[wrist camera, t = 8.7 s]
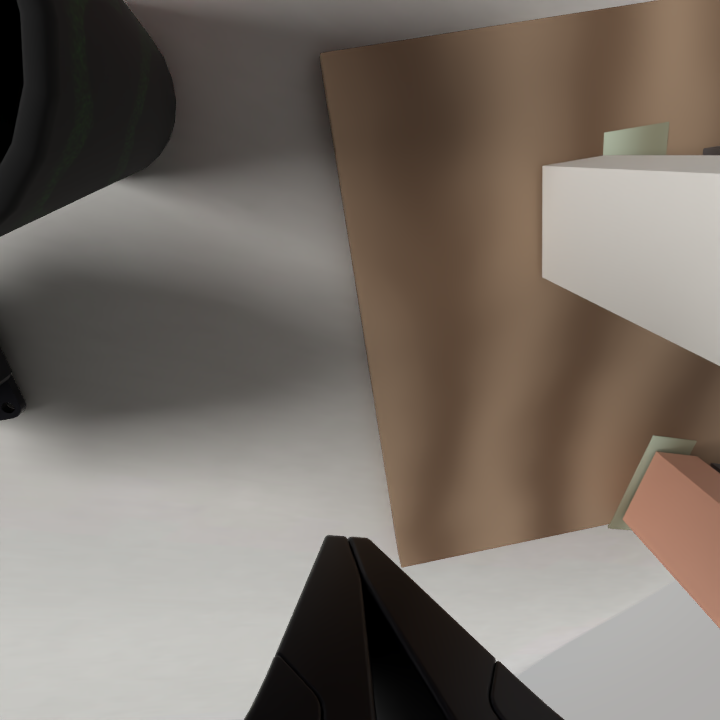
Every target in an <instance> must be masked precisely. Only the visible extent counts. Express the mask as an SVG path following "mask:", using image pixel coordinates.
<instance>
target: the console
mask: <svg viewBox="0 0 720 720" xmlns="http://www.w3.org/2000/svg"><path fill="white" fill-rule="evenodd" d="M320 64H321V70H322V76H323V82H324V89H325V95H326V101H327V108H328V114H329V120H330V127H331V133H332V139H333V145H334V152H335V158H336V164H337V171H338V177H339V183H340V189H341V196H342V202H343V208H344V215H345V221H346V227H347V234H348V240H349V246H350V252H351V259H352V265H353V271H354V278H355V284H356V290H357V297H358V303H359V309H360V315H361V322H362V328H363V334H364V341H365V347H366V353H367V359H368V366H369V372H370V378H371V385H372V391H373V397H374V404H375V410H376V416H377V422H378V429H379V435H380V441H381V448H382V454H383V460H384V467H385V473H386V479H387V485H388V492H389V498H390V504H391V511H392V517H393V523H394V530H395V536H396V542H397V548H398V555H399V559H400V563H401V567H407V566H411V565H416V564H421V563H426V562H430V561H435V560H440V559H445V558H449V557H454V556H459V555H464V554H468V553H473V552H478V551H483V550H487V549H492V548H497V547H502V546H506V545H511V544H516V543H521V542H526V541H530V540H535V539H540V538H545V537H549V536H554V535H559V534H564V533H568V532H573V531H578V530H583V529H587V528H592V527H597V526H602V525H606V524H609V525H608V528H610V529H623V530H631V528H630V527H629V526H628V525H627V524H626V523H625V522H624V521H623V517H624V515H625V513H626V511H627V509H628V507H629V505H630V503H631V501H632V499H633V497H634V495H635V493H636V491H637V489H638V487H639V485H640V483H641V481H642V479H643V477H644V475H645V473H646V471H647V469H648V467H649V465H650V463H651V461H652V459H653V457H654V455H655V453H656V452H664V453H673V454H681V455H690V456H697V457H699V458H700V459H701V460H703V461H704V462H705V463H707V464H708V465H709V466H711V467H712V468H713V469H715V470H716V471H717V472H719V473H720V366H719V365H717V364H715V363H713V362H711V361H709V360H707V359H705V358H703V357H701V356H699V355H697V354H695V353H693V352H691V351H689V350H687V349H685V348H683V347H681V346H679V345H677V344H675V343H673V342H671V341H669V340H667V339H665V338H663V337H661V336H659V335H657V334H655V333H653V332H651V331H649V330H647V329H645V328H643V327H641V326H639V325H637V324H635V323H633V322H631V321H629V320H627V319H625V318H623V317H621V316H619V315H617V314H615V313H613V312H611V311H609V310H607V309H605V308H603V307H601V306H599V305H597V304H595V303H593V302H591V301H589V300H587V299H585V298H583V297H581V296H579V295H577V294H575V293H573V292H571V291H569V290H567V289H565V288H563V287H561V286H559V285H557V284H555V283H553V282H551V281H549V280H547V279H545V278H543V277H542V166H545V165H551V164H556V163H562V162H568V161H574V160H580V159H586V158H591V157H597V156H603V155H720V0H657V1H651V2H644V3H638V4H631V5H625V6H619V7H612V8H606V9H599V10H593V11H586V12H580V13H574V14H567V15H561V16H554V17H548V18H541V19H535V20H529V21H522V22H516V23H509V24H503V25H497V26H490V27H484V28H477V29H471V30H464V31H458V32H452V33H445V34H439V35H432V36H426V37H420V38H413V39H407V40H400V41H394V42H387V43H381V44H375V45H368V46H362V47H355V48H349V49H342V50H336V51H330V52H323V53H320Z"/></svg>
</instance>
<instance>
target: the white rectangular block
mask: <svg viewBox="0 0 720 720" xmlns="http://www.w3.org/2000/svg"><path fill="white" fill-rule="evenodd" d="M542 277H543V278H545V279H547V280H549V281H551V282H553V283H555V284H557V285H559V286H561V287H563V288H565V289H567V290H569V291H571V292H573V293H575V294H577V295H579V296H581V297H583V298H585V299H587V300H589V301H591V302H593V303H595V304H597V305H599V306H601V307H603V308H605V309H607V310H609V311H611V312H613V313H615V314H617V315H619V316H621V317H623V318H625V319H627V320H629V321H631V322H633V323H635V324H637V325H639V326H641V327H643V328H645V329H647V330H649V331H651V332H653V333H655V334H657V335H659V336H661V337H663V338H665V339H667V340H669V341H671V342H673V343H675V344H677V345H679V346H681V347H683V348H685V349H687V350H689V351H691V352H693V353H695V354H697V355H699V356H701V357H703V358H705V359H707V360H709V361H711V362H713V363H715V364H717V365H719V366H720V155H603V156H597V157H591V158H586V159H580V160H574V161H568V162H562V163H556V164H551V165H545V166H542Z"/></svg>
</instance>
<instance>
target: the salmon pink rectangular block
mask: <svg viewBox="0 0 720 720" xmlns="http://www.w3.org/2000/svg"><path fill="white" fill-rule="evenodd" d="M623 521H624V522H625V523H626V524H627V525H628V526H629V527H630V528H631V530H632V531H633V532H634V533H635V534H636V535H637V536H638V537H639V539H640V540H641V541H642V542H643V543H644V544H645V545H646V546H647V547H648V549H649V550H650V551H651V552H652V553H653V554H654V555H655V556H656V558H657V559H658V560H659V561H660V562H661V563H662V564H663V565H664V567H665V568H666V569H667V570H668V571H669V572H670V573H671V574H672V576H673V577H674V578H675V579H676V580H677V581H678V582H679V583H680V585H681V586H682V587H683V588H684V589H685V590H686V591H687V592H688V593H689V595H690V596H691V597H692V598H693V599H694V600H695V601H696V602H697V604H698V605H699V606H700V607H701V608H702V609H703V610H704V611H705V613H706V614H707V615H708V616H709V617H710V618H711V619H712V620H713V622H714V623H715V624H716V625H717V626H718V627H719V628H720V473H719V472H717V471H716V470H715V469H713V468H712V467H711V466H709V465H708V464H707V463H705V462H704V461H703V460H701V459H700V458H699V457H697V456H690V455H681V454H673V453H664V452H656V453H655V455H654V457H653V459H652V461H651V463H650V465H649V467H648V469H647V471H646V473H645V475H644V477H643V479H642V481H641V483H640V485H639V487H638V489H637V491H636V493H635V495H634V497H633V499H632V501H631V503H630V505H629V507H628V509H627V511H626V513H625V515H624V517H623Z"/></svg>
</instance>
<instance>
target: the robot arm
mask: <svg viewBox="0 0 720 720" xmlns="http://www.w3.org/2000/svg"><path fill="white" fill-rule="evenodd" d="M11 373H12V370H11V368H10V366H9V364H8V362H7V360H6V358H5V356H4V354H3V352H2V350H1V348H0V420H6V419H11V418H15V417H17V416H18V415H20V414H21V413H22V412H23V411H24V410H25V407H26V403H25V400H24V398H23V396H22V394H21V392H20V390H19V388H18V386H17V384H16V382H15V380H14V378H13V376H12V374H11ZM7 403H11V404H12V405H13V406H14V408H15V409H12V408H10V407H9V406H8V405H7ZM495 662H496V660H495V658H494V657H493V656H492V655H491V654H490V653H489V652H488V651H487V650H486V649H485V648H484V647H483V646H482V645H481V644H479V643H478V642H477V641H476V640H475V639H474V638H473V637H472V636H471V635H470V634H469V633H468V632H467V631H466V630H465V629H464V628H463V627H462V626H460V625H459V624H458V623H457V622H456V621H455V620H454V619H453V618H452V617H451V616H450V615H449V614H448V613H447V612H446V611H445V610H444V609H443V608H441V607H440V606H439V605H438V604H437V603H436V602H435V601H434V600H433V599H432V598H431V597H430V596H429V595H428V594H427V593H426V592H425V591H423V590H422V589H421V588H420V587H419V586H418V585H417V584H416V583H415V582H414V581H413V580H412V579H411V578H410V577H409V576H408V575H407V574H406V573H404V572H403V571H402V570H401V569H400V568H399V567H398V566H397V565H396V564H395V563H394V562H393V561H392V560H391V559H390V558H389V557H388V556H387V555H385V554H384V553H383V552H382V551H381V550H380V549H379V548H378V547H377V546H376V545H375V544H374V543H373V542H372V541H371V540H369V539H368V538H361V537H349V538H348V539H347V538H346V537H344V536H333V535H328V536H326V537H325V539H324V541H323V544H322V546H321V548H320V551H319V553H318V556H317V558H316V560H315V563H314V565H313V567H312V570H311V572H310V574H309V577H308V579H307V581H306V584H305V586H304V589H303V591H302V593H301V596H300V598H299V600H298V603H297V605H296V607H295V610H294V612H293V615H292V617H291V619H290V622H289V624H288V626H287V629H286V631H285V633H284V636H283V638H282V640H281V643H280V645H279V648H278V650H277V652H276V655H275V657H274V658H273V661H272V663H271V665H270V668H269V670H268V672H267V675H266V677H265V679H264V681H263V683H262V686H261V688H260V690H259V692H258V694H257V696H256V698H255V700H254V702H253V704H252V706H251V708H250V710H249V712H248V713H247V715H246V717H245V719H244V720H564V719H563V718H562V717H560V716H559V715H558V714H557V713H556V712H554V711H553V710H552V709H551V708H550V707H549V706H547V705H546V704H545V703H544V702H543V701H542V700H541V699H540V698H539V697H537V696H536V695H535V694H534V693H533V692H532V691H531V690H530V689H529V688H527V687H526V686H525V685H524V684H523V683H522V682H521V681H520V680H519V679H518V678H517V677H515V676H514V675H513V674H512V673H511V672H510V671H509V670H508V669H507V668H506V667H505V666H504V665H503V664H502V663H501V662H499V661H497V662H496V663H495Z"/></svg>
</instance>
